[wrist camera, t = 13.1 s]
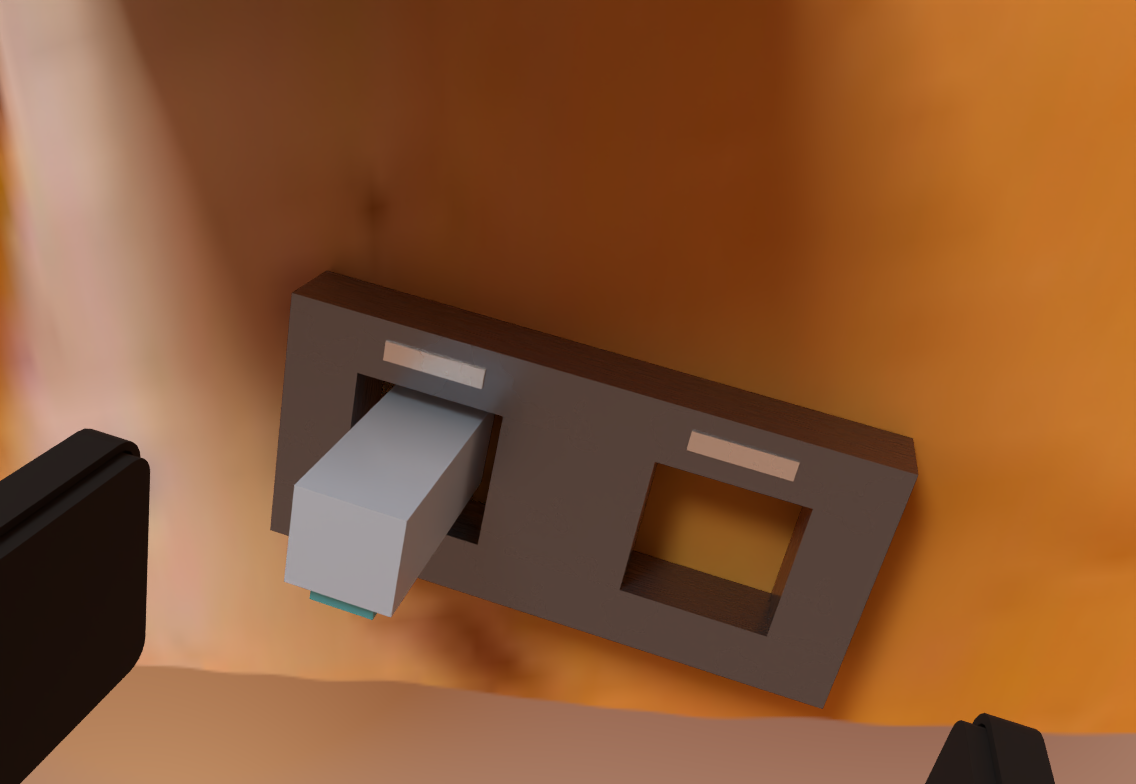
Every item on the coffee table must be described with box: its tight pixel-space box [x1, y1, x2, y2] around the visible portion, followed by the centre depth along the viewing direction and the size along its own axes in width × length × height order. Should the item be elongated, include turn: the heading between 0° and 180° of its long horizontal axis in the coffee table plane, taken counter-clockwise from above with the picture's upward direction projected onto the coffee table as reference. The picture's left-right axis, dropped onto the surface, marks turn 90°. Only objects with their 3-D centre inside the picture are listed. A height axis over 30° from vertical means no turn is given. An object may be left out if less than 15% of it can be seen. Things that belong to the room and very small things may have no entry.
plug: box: [284, 385, 495, 620], centre depth 40 cm, size 4×5×10 cm
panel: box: [270, 271, 918, 709], centre depth 42 cm, size 24×11×3 cm, turn 78°
